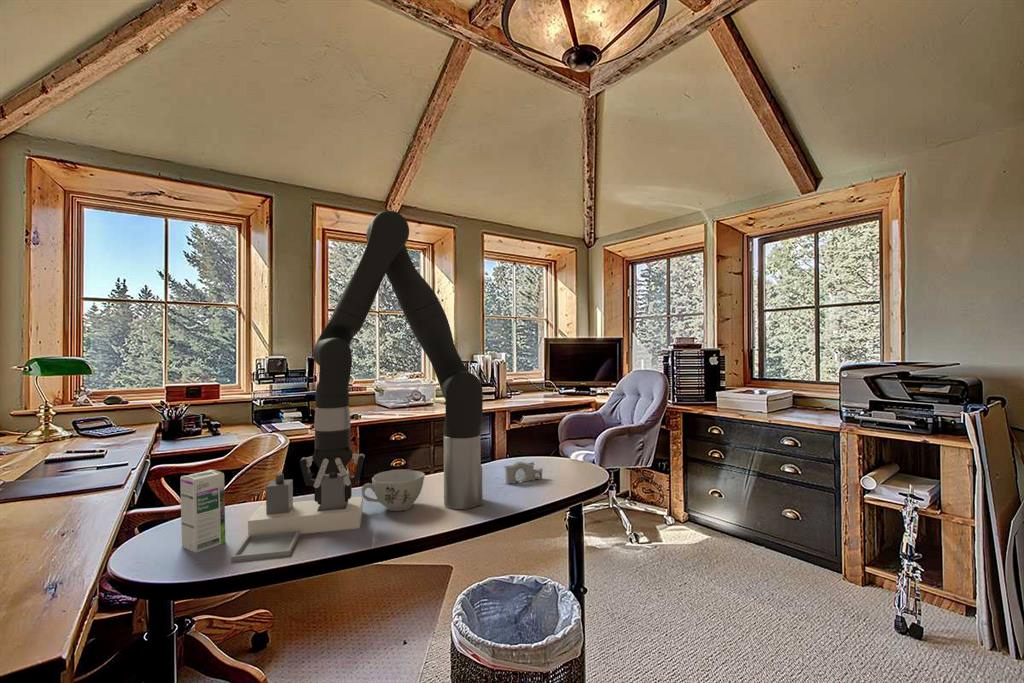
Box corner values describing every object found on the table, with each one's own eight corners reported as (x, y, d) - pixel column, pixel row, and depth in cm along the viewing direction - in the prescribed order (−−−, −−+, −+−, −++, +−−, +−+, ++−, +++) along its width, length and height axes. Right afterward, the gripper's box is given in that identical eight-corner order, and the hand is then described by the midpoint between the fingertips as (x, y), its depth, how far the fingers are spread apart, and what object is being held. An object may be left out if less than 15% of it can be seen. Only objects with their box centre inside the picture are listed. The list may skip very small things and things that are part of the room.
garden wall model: (540, 478, 141) (540, 458, 141) (543, 479, 139) (543, 459, 139) (504, 483, 136) (504, 463, 136) (506, 485, 134) (506, 464, 134)
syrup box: (195, 554, 91) (194, 479, 91) (180, 547, 94) (179, 475, 94) (225, 543, 96) (225, 472, 96) (211, 537, 99) (210, 468, 99)
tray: (299, 536, 100) (299, 530, 100) (289, 556, 90) (289, 550, 90) (247, 541, 97) (247, 535, 97) (231, 563, 88) (231, 556, 88)
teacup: (418, 496, 125) (418, 466, 125) (430, 511, 113) (430, 478, 113) (358, 504, 119) (358, 472, 119) (364, 521, 107) (364, 486, 107)
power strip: (362, 513, 113) (362, 463, 113) (359, 529, 103) (359, 475, 103) (261, 522, 107) (260, 470, 107) (248, 540, 98) (247, 483, 98)
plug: (345, 516, 109) (344, 465, 109) (343, 523, 105) (342, 470, 105) (324, 518, 108) (324, 467, 108) (321, 525, 104) (321, 472, 104)
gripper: (366, 422, 112) (367, 494, 112) (301, 425, 108) (302, 499, 108) (365, 427, 105) (365, 504, 105) (294, 431, 101) (295, 510, 101)
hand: (333, 501), depth 106 cm, fingers open, 5 cm apart
